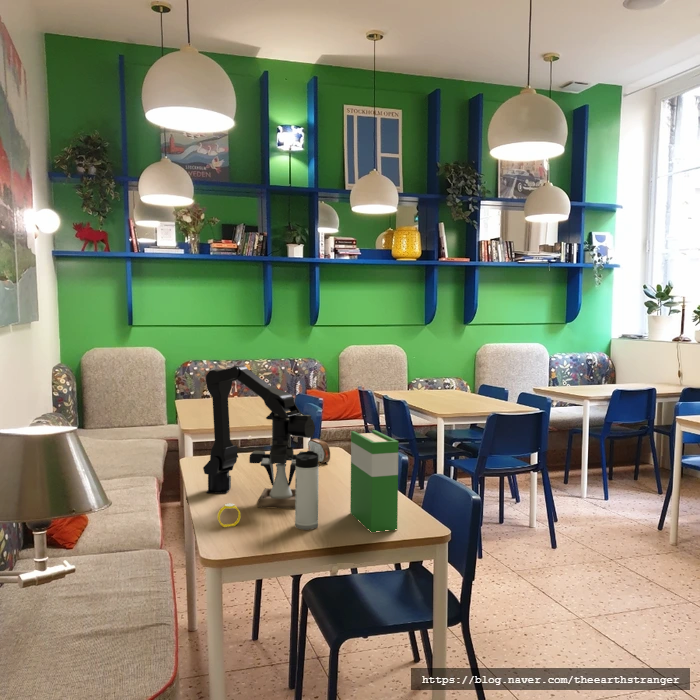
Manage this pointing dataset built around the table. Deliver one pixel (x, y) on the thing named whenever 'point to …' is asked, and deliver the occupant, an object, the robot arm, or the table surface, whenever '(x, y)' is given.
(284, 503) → the tray
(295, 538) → the table surface
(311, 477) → the travel mug
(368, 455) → the hardback book
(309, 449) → the tin
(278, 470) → the flask
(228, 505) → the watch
